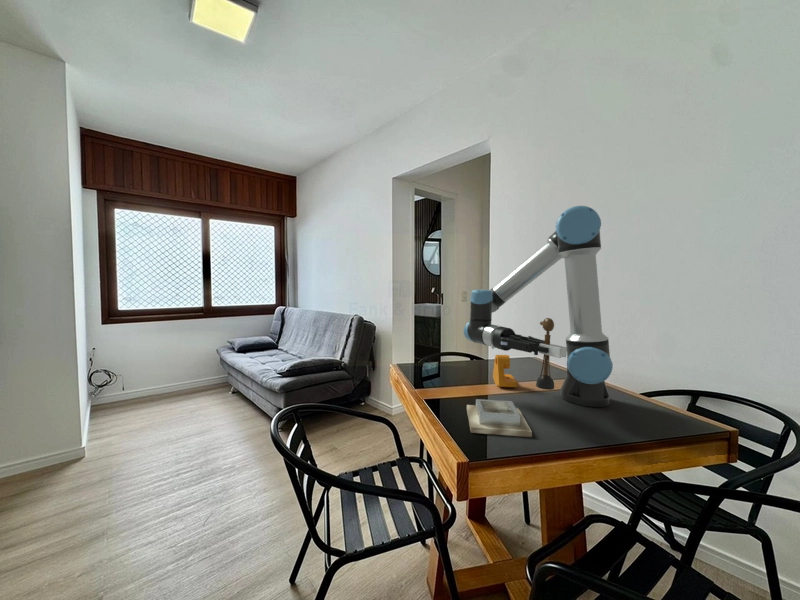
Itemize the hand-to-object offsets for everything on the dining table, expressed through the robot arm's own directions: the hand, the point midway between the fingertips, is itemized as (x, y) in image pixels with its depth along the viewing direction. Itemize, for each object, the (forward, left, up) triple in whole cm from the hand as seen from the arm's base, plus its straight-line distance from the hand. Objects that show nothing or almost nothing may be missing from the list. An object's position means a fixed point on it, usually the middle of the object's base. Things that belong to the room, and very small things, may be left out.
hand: (562, 352), depth 87 cm
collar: (+16, -4, -21) cm, 27 cm away
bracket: (+7, -40, -23) cm, 47 cm away
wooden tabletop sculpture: (+3, -5, -11) cm, 13 cm away
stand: (+16, -4, -22) cm, 28 cm away
